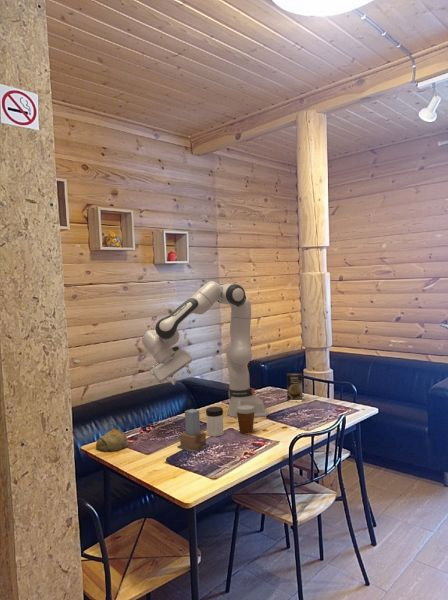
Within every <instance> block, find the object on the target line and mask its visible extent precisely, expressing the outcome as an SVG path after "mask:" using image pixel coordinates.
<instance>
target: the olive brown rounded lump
mask: <svg viewBox="0 0 448 600" xmlns="http://www.w3.org/2000/svg"><path fill="white" fill-rule="evenodd" d="M95 446H96V447H95V448H97V449H98V450H99V451H102V452H113V451H121V450H123V449H125V448H128V447H129V441H128V437H127V435H126V434H125V433H124V432H123V431H122V430H120V429H118V428H113V429H111V430H110V431H109V430H108V432H106V433H105V434H104V435H101V436H100V437H99V438H98V439H97V440H96V443H95Z"/></svg>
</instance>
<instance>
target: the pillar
mask: <svg viewBox="0 0 448 600" xmlns="http://www.w3.org/2000/svg"><path fill="white" fill-rule="evenodd" d="M184 421H185V422H184V423H185V424H184V425H185V432H186V434H189V435H192V436H193V435H196V434H198V433H200V431H201V423H200V421H201V420H200V410H198V409H195V408H191V409H187V410H185V411H184Z"/></svg>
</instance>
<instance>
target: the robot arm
mask: <svg viewBox="0 0 448 600" xmlns="http://www.w3.org/2000/svg"><path fill="white" fill-rule="evenodd" d="M246 296H247V295H246V291H245V289H244V287H242V286H241V285H239V284H237V283H225V284H224V283H222V284H219V283H218V282H217V281H215V280H210V281H208V282H206V283H205V284H203V285H202V286H201V287H200V288H198V289H197V291H195V292H194V293H193V295H191V297H189V298H188V299H186V300H185V301H184V302H183V303H182V304H180V306H179V307H177V308H175V310H174V311H172V312H171V313H170V314H169V315H167V316H165V317H162V318H161V319H159V320H158V321H157V322H156V324H155V329H148V330H147V331H145V332H144V334H143V335H142V337H141V338H142V339H141V342H142V345H143V347H144V348H145V350H147V352H148V353H149V354H150V355H151V356H152V357H153V359H154V360H155V361H156V363H155V364H153V365H152V366H151V367H150V369H149V372H150V374H151V375H152V376H154V379H155V380H156V381H157V382H158V383H160V384H162V383H163V382H165V381H166V382H168V383H170V384H172V385H173V386H175V385H176V383H177V381H176V380H175V379H171V377H172V376H174V375H175V374H176V373H179V371H181V370H182V369H184V368H186V369H187V370H186V373H187V374H188V375H190V374H191V373H192V370H191V369H190V364H191V363H192V361H193V357H192V355H190V353H188V351H186V350H185V349H182V347H181V345H175V344H177V343H178V342H179V340H180V333H179V332H180V331H179V329H178V328H179V325H180V324H181V323H182V322H184V320H185V319H186V318H187V317H188V316H190V315H192V314H196V315H204V314H205V313H207V311H210V309H211V308H212V307H213V305H215V303H217V302H218V303H220V304H224V305H229V306H230V311H231V312H230V320H229V321H230V322H229V324H230V325H229V334H230V342H229V343H228V344H227V346H226V348H225V354H226V355H225V356H226V363H227V369H228V381H229V383H228V384H229V388H228V399H229V402H228V403H229V404H228V409H227V416H230V417H233V418H237V419H238V417H237V412H236V408H237V406H239V405H253V406H254V408H255V412H254V418H261V417H267V416H268V415H269V414H270V412H269V410H268V408H266V407H265V404H264V401H263V400H262V399H261V398H259V397H258V396H256V395H255V393H256V391H255V389H254V388H253V387H251V386H250V384H251V383H250V372H249V367H248V364H249V363H250V361H251V360H252V357H253V353H252V342H251V326H252V325H251V323H252V322H251V321H252V305H251V304H252V303H251V301H250V300H249V299H248V298H247V297H246ZM174 345H175V346H174Z"/></svg>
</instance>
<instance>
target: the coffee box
mask: <svg viewBox="0 0 448 600" xmlns="http://www.w3.org/2000/svg"><path fill="white" fill-rule="evenodd" d="M286 391H287V392H286V393H287V394H286V396H287V400H303V401H304V399H303V396H304V395H303V373H302V372H301V373H296V372H295V373H293V372H291V373H289V372H287V373H286Z"/></svg>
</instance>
